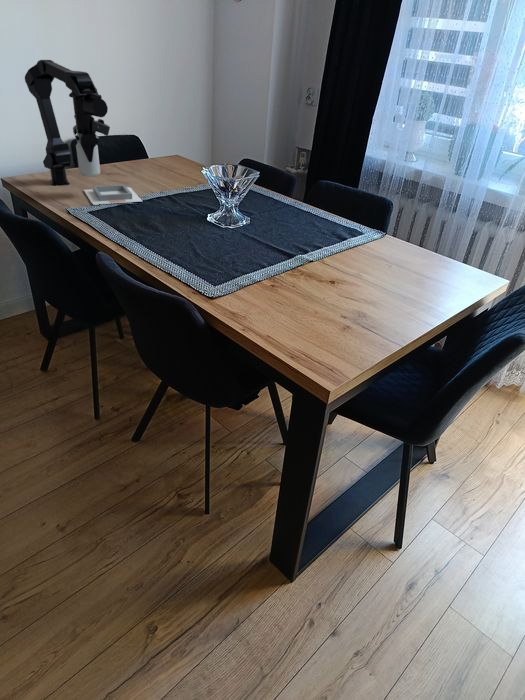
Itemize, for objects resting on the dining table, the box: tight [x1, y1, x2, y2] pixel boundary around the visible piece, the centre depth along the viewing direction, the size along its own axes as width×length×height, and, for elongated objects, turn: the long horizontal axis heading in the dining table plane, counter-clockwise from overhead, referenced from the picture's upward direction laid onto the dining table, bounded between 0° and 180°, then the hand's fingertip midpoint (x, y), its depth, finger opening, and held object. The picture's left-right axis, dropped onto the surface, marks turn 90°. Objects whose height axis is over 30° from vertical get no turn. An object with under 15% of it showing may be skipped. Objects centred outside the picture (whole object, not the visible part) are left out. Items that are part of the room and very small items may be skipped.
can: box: [75, 140, 101, 178], centre depth 182 cm, size 8×8×12 cm
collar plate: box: [83, 184, 143, 206], centre depth 189 cm, size 18×18×3 cm
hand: (88, 159), depth 182 cm, fingers closed on can, 7 cm apart
